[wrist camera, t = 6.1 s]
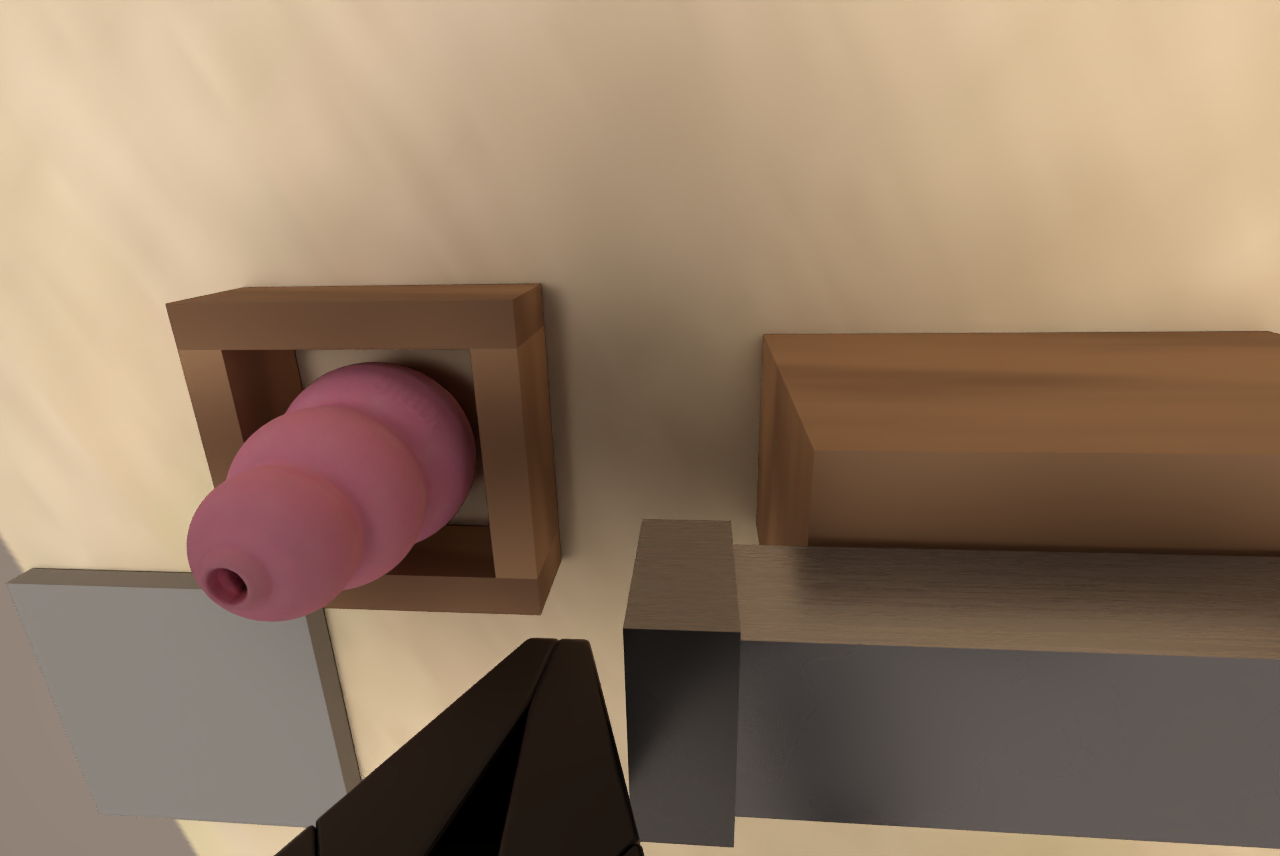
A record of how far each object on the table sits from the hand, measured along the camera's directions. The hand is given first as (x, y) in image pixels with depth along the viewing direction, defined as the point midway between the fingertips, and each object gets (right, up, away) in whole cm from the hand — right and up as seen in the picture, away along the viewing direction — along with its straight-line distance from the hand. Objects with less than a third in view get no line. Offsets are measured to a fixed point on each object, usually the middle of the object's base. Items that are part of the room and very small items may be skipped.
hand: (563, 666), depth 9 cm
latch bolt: (+8, 0, 0) cm, 8 cm away
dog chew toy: (-5, +3, +9) cm, 11 cm away
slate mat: (-13, -5, +12) cm, 19 cm away
